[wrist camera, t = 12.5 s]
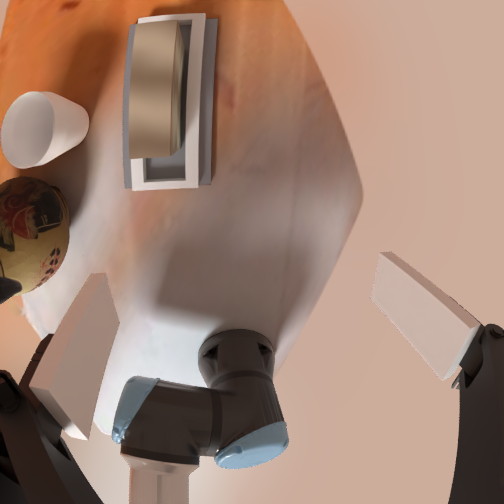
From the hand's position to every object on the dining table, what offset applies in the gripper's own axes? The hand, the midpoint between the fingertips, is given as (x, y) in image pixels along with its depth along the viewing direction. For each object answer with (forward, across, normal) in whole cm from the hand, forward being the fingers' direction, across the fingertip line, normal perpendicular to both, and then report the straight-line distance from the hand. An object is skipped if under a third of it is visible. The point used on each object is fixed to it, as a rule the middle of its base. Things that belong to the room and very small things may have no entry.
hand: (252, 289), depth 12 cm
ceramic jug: (+29, +28, +3) cm, 40 cm away
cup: (+28, +22, -11) cm, 37 cm away
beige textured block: (+26, +7, -12) cm, 30 cm away
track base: (+28, +6, -12) cm, 31 cm away
